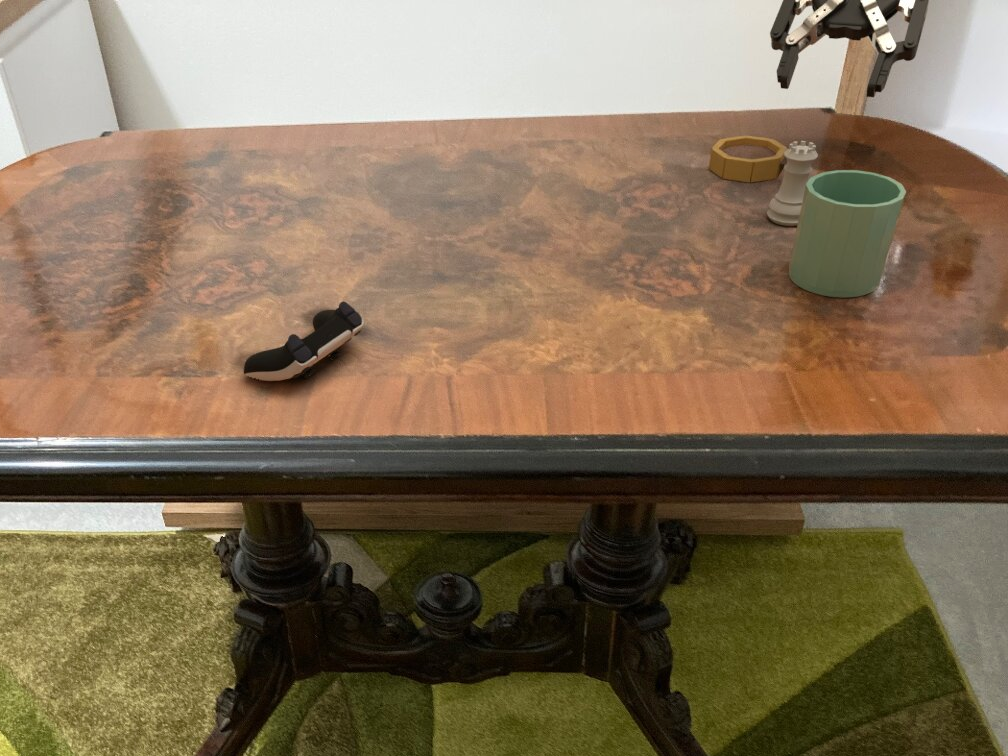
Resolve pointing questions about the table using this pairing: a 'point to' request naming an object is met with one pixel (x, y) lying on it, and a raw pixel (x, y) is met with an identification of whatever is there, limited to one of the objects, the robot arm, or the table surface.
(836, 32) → the robot arm
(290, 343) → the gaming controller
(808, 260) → the green cup
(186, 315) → the table surface
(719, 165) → the holder ring
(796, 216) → the rook chess piece
